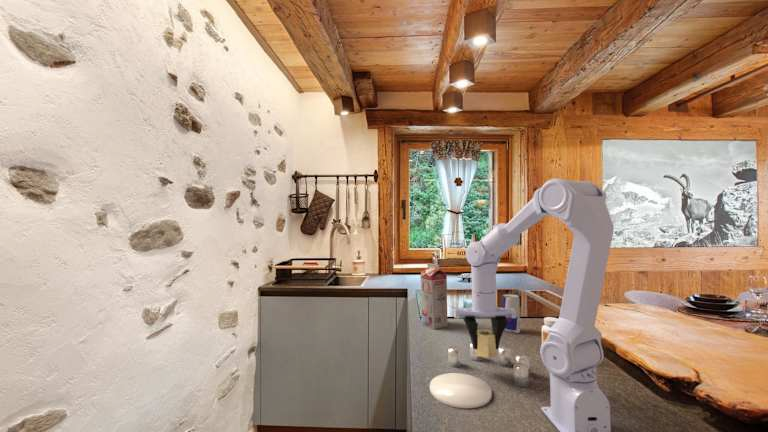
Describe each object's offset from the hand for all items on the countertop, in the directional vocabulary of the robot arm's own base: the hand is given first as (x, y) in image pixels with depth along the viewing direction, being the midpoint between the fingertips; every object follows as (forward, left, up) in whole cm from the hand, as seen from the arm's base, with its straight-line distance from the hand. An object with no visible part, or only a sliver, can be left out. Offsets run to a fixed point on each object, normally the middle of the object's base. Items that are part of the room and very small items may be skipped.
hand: (485, 347), depth 76 cm
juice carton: (+37, +7, -6) cm, 38 cm away
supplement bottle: (+11, -22, -6) cm, 25 cm away
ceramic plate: (-8, +8, -6) cm, 13 cm away
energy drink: (+30, -18, -6) cm, 36 cm away
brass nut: (0, 0, -1) cm, 1 cm away
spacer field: (+2, -1, -6) cm, 7 cm away
